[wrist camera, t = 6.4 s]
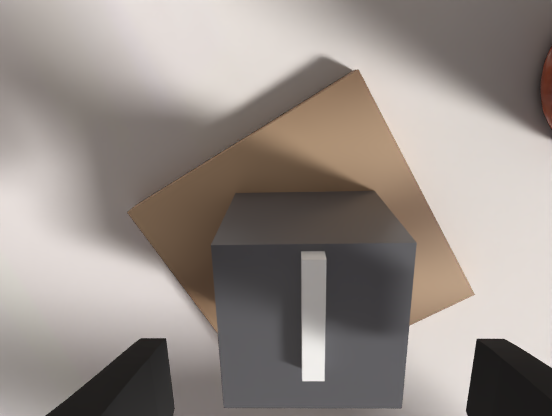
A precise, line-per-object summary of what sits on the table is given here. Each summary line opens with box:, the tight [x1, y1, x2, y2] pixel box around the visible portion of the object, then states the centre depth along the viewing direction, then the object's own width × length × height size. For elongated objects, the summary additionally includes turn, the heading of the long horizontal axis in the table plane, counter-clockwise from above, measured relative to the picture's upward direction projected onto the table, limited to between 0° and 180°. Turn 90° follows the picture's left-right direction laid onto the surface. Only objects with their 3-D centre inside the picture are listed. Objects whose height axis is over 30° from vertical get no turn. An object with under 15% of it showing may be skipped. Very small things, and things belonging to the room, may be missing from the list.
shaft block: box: [127, 70, 475, 333], centre depth 14 cm, size 10×10×4 cm
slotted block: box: [211, 191, 417, 408], centre depth 13 cm, size 5×5×6 cm
